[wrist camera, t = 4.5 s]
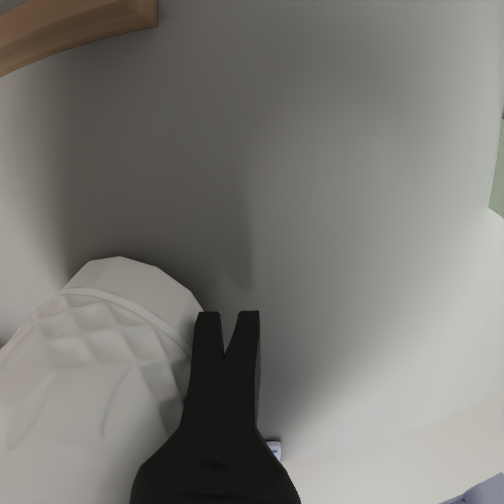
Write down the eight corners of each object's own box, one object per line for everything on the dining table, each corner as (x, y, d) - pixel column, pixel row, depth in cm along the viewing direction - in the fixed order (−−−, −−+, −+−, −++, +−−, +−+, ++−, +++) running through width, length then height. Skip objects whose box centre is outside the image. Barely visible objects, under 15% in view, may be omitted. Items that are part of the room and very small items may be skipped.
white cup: (109, 375, 15) (43, 529, 7) (36, 254, 12) (-102, 424, 3) (247, 379, 14) (212, 591, 5) (194, 224, 10) (33, 565, 2)
